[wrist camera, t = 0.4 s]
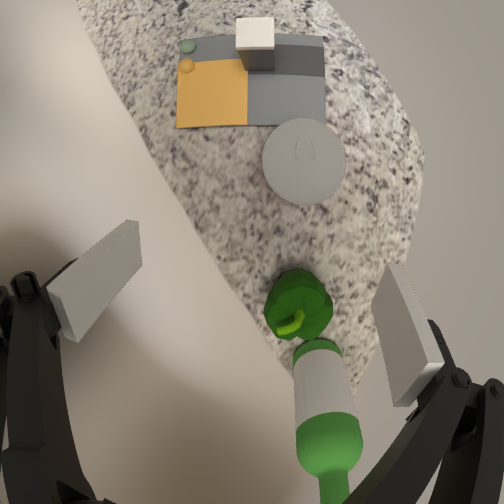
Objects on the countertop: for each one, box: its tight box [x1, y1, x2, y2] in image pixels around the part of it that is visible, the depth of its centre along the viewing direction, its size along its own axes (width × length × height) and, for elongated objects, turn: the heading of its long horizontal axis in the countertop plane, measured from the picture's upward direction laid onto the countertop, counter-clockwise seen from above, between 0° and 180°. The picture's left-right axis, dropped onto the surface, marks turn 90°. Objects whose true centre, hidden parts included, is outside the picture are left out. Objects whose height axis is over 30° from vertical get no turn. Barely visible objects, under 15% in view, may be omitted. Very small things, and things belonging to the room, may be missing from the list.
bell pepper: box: [264, 269, 333, 340], centre depth 35 cm, size 8×8×10 cm
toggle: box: [236, 17, 275, 71], centre depth 25 cm, size 4×4×8 cm
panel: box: [176, 34, 326, 129], centre depth 30 cm, size 13×18×2 cm
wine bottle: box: [293, 339, 363, 504], centre depth 28 cm, size 8×8×30 cm
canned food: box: [262, 118, 346, 205], centre depth 29 cm, size 8×8×11 cm
